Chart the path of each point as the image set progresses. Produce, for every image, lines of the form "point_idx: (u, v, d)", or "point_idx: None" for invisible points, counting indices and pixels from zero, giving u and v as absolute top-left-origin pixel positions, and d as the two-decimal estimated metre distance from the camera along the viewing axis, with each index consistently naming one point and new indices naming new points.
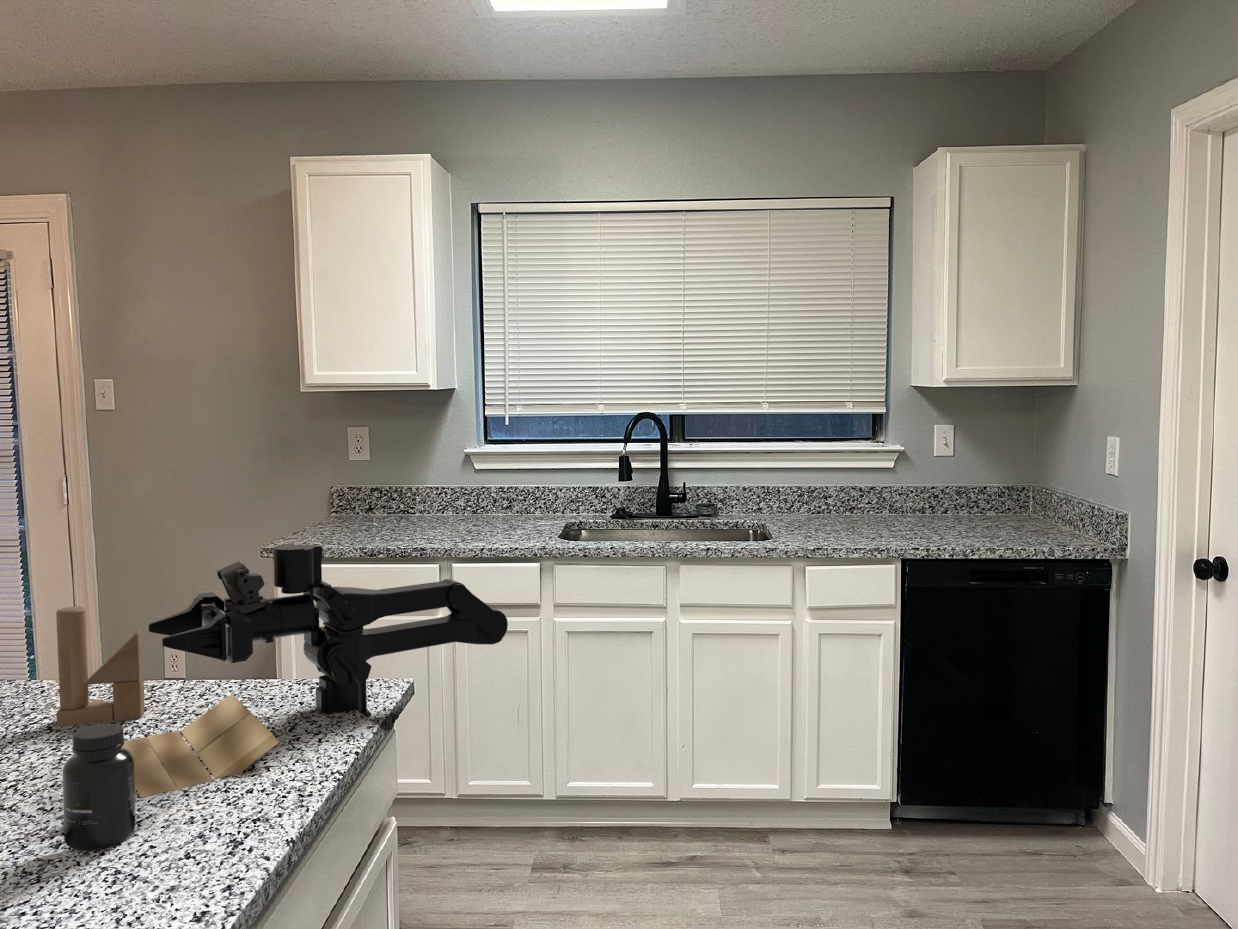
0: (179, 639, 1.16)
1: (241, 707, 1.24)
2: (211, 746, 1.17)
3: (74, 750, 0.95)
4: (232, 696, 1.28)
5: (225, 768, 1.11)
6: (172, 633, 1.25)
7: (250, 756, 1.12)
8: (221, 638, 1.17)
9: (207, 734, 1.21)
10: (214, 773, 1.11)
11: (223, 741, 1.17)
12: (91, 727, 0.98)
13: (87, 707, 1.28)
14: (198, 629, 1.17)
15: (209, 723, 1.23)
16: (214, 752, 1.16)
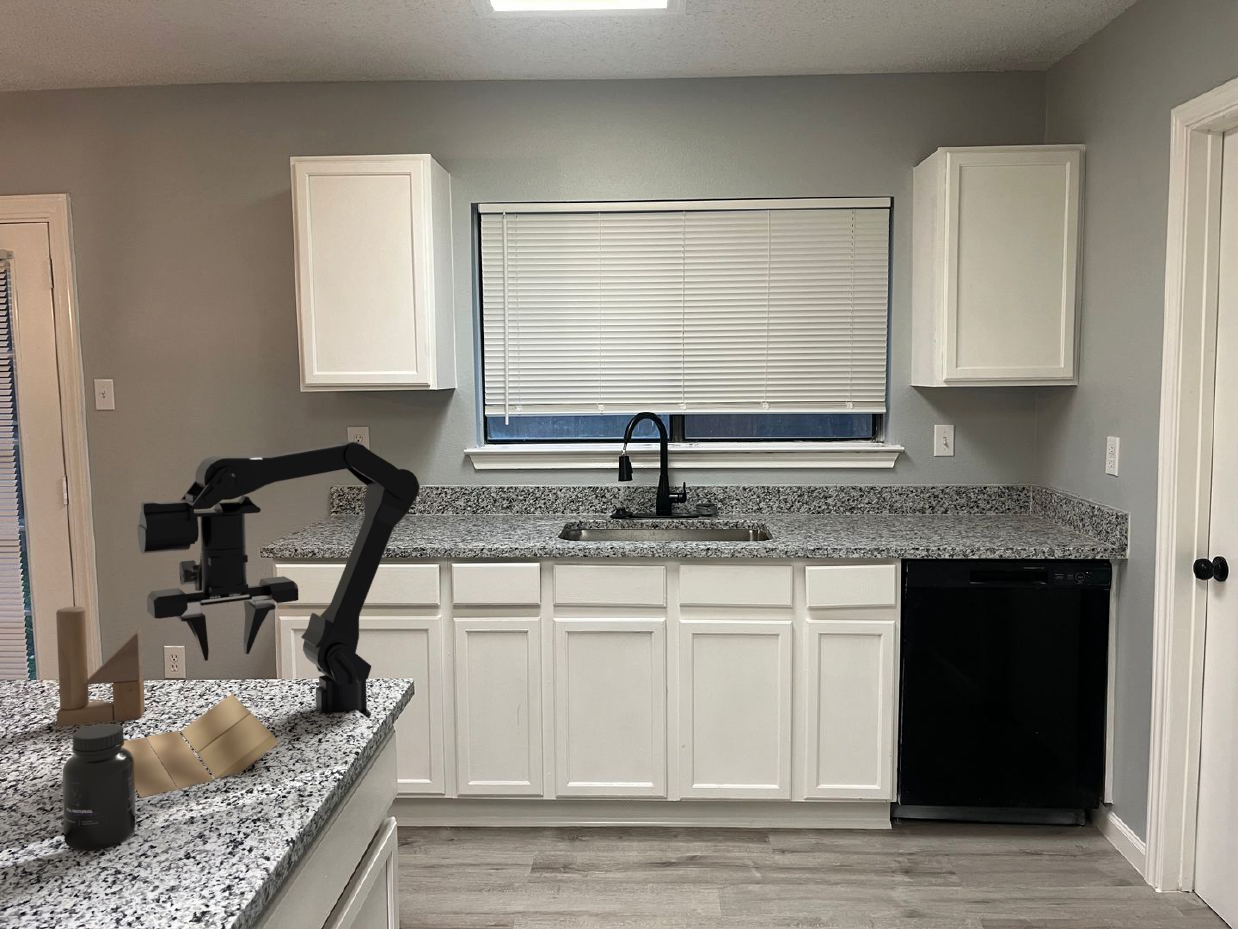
0: None
1: (241, 707, 1.24)
2: (211, 746, 1.17)
3: (74, 750, 0.95)
4: (232, 696, 1.28)
5: (225, 768, 1.11)
6: (248, 635, 1.25)
7: (250, 756, 1.12)
8: None
9: (207, 734, 1.21)
10: (214, 773, 1.11)
11: (223, 741, 1.17)
12: (91, 727, 0.98)
13: (87, 707, 1.28)
14: None
15: (209, 723, 1.23)
16: (214, 752, 1.16)
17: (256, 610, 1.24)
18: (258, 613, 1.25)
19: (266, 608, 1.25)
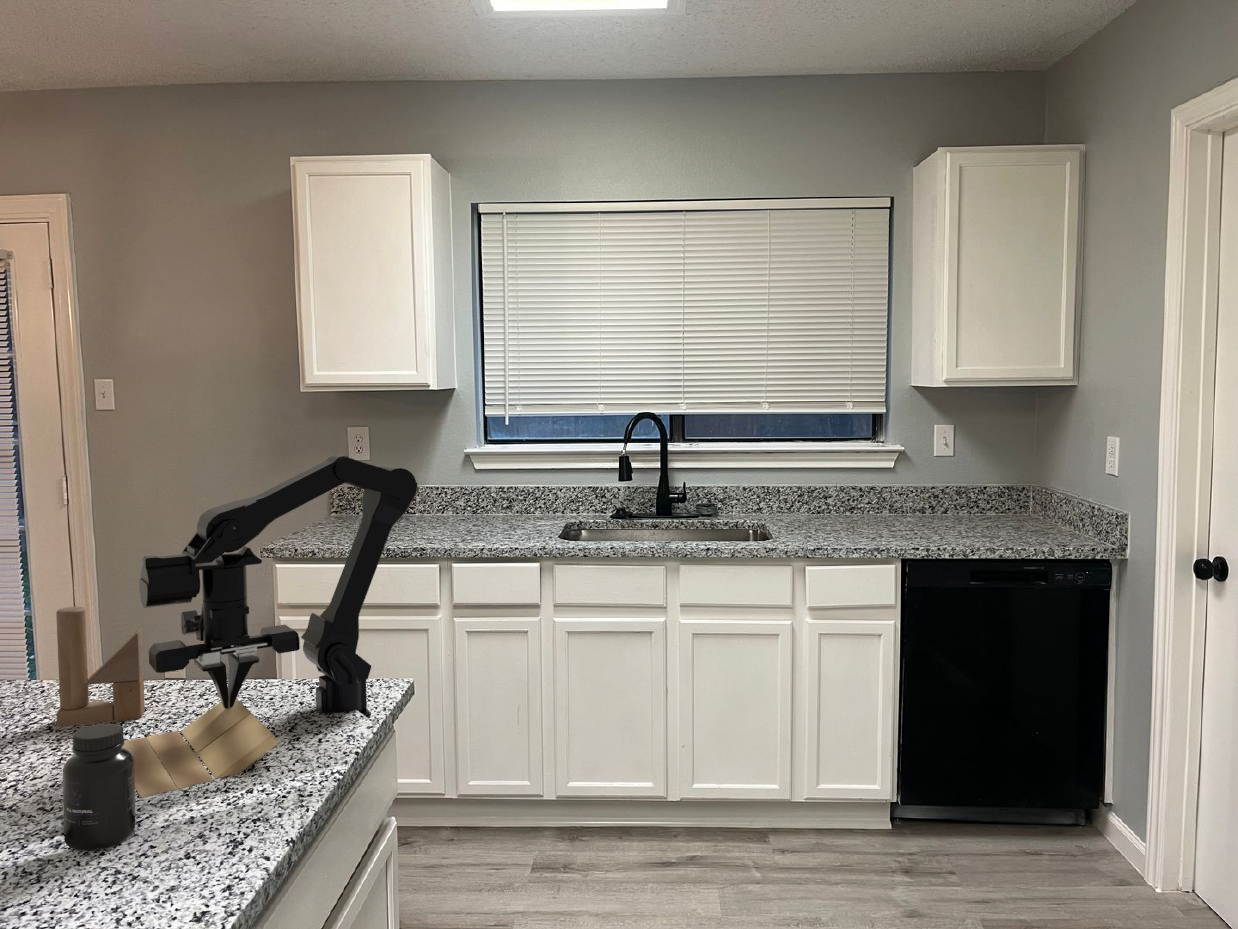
0: None
1: (241, 707, 1.24)
2: (211, 746, 1.17)
3: (74, 750, 0.95)
4: None
5: (225, 768, 1.11)
6: (232, 688, 1.24)
7: (250, 756, 1.12)
8: None
9: (207, 734, 1.21)
10: (214, 773, 1.11)
11: (223, 741, 1.17)
12: (91, 727, 0.98)
13: (87, 707, 1.28)
14: None
15: (209, 723, 1.23)
16: (214, 752, 1.16)
17: (239, 664, 1.23)
18: (242, 667, 1.24)
19: (250, 662, 1.24)
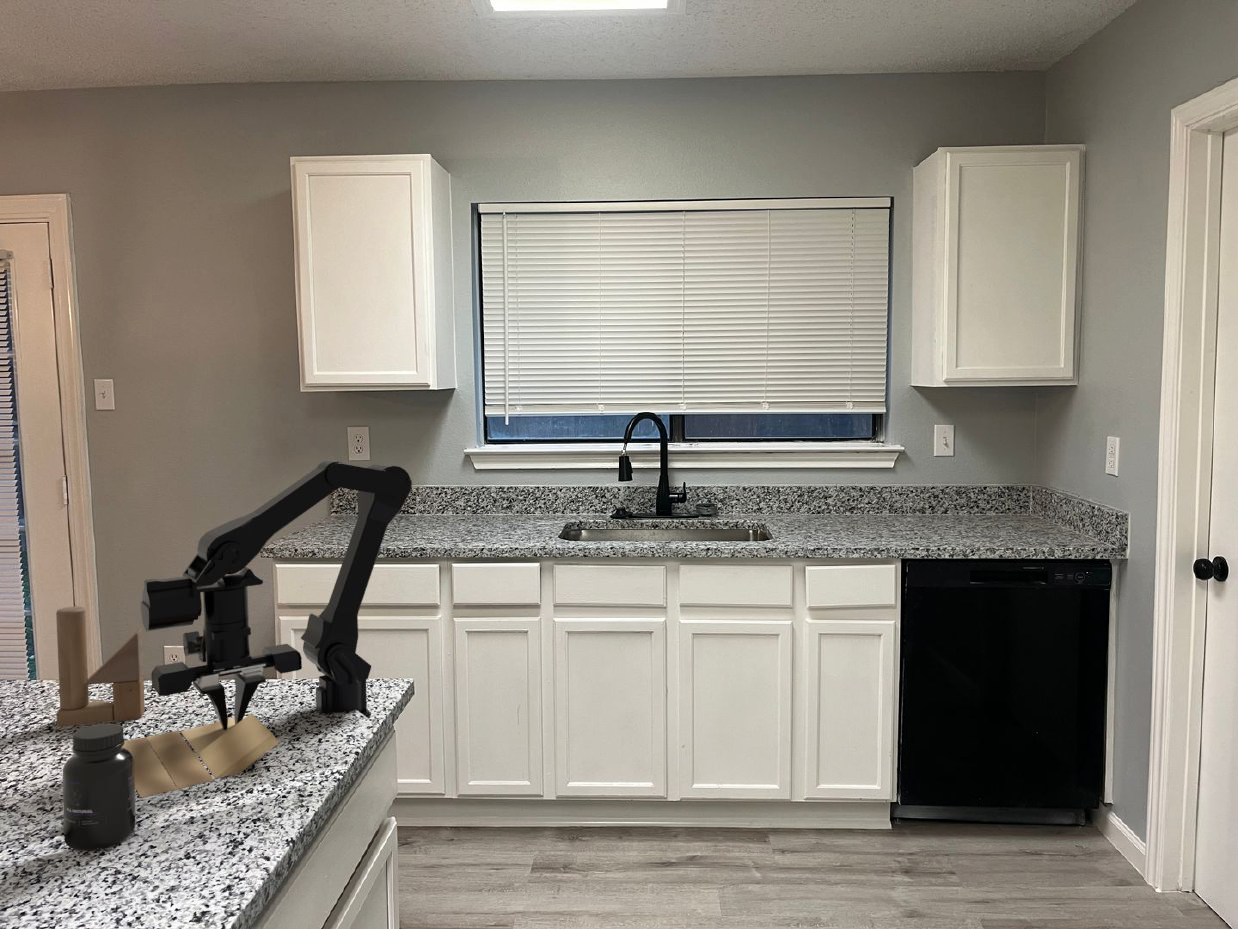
0: (219, 716, 1.25)
1: None
2: (211, 746, 1.17)
3: (74, 750, 0.95)
4: None
5: (225, 768, 1.11)
6: (239, 708, 1.25)
7: (250, 756, 1.12)
8: None
9: (210, 741, 1.21)
10: (214, 773, 1.11)
11: (223, 741, 1.17)
12: (91, 727, 0.98)
13: (87, 707, 1.28)
14: None
15: (213, 733, 1.24)
16: (214, 752, 1.16)
17: (246, 685, 1.24)
18: (248, 687, 1.24)
19: (256, 682, 1.25)
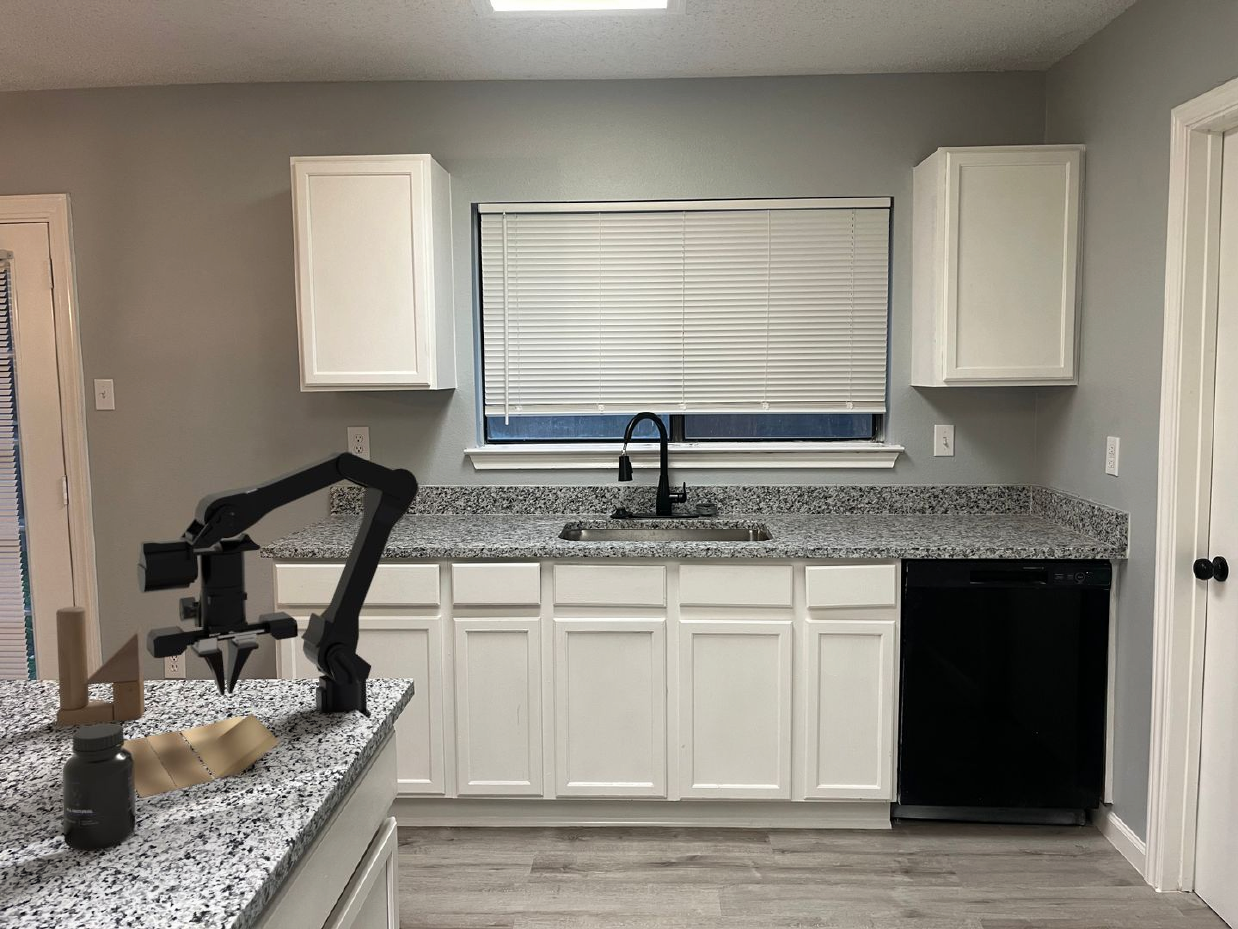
0: (217, 681, 1.25)
1: None
2: (211, 746, 1.17)
3: (74, 750, 0.95)
4: (240, 718, 1.29)
5: (225, 768, 1.11)
6: (231, 674, 1.24)
7: (250, 756, 1.12)
8: None
9: (210, 741, 1.21)
10: (214, 773, 1.11)
11: (223, 741, 1.17)
12: (91, 727, 0.98)
13: (87, 707, 1.28)
14: None
15: (213, 733, 1.24)
16: (214, 752, 1.16)
17: (239, 650, 1.23)
18: (241, 653, 1.23)
19: (249, 648, 1.24)
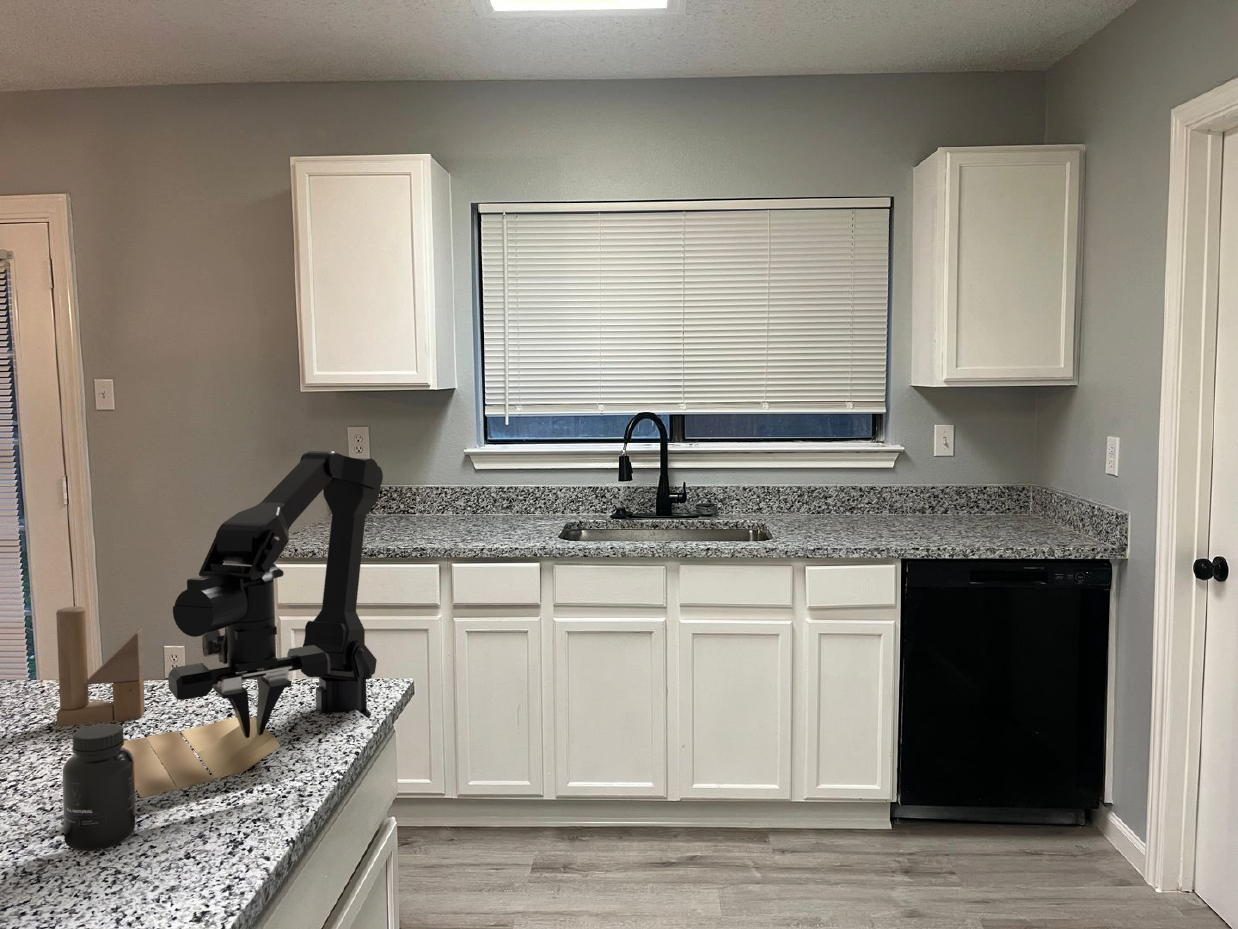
0: (241, 723, 1.15)
1: None
2: (212, 747, 1.17)
3: (74, 751, 0.95)
4: None
5: (225, 769, 1.11)
6: (262, 715, 1.15)
7: (251, 758, 1.12)
8: None
9: (210, 741, 1.21)
10: (214, 773, 1.11)
11: (224, 742, 1.17)
12: (91, 727, 0.98)
13: (87, 707, 1.28)
14: None
15: (213, 733, 1.24)
16: (214, 753, 1.16)
17: (270, 689, 1.14)
18: (273, 691, 1.14)
19: (281, 686, 1.14)
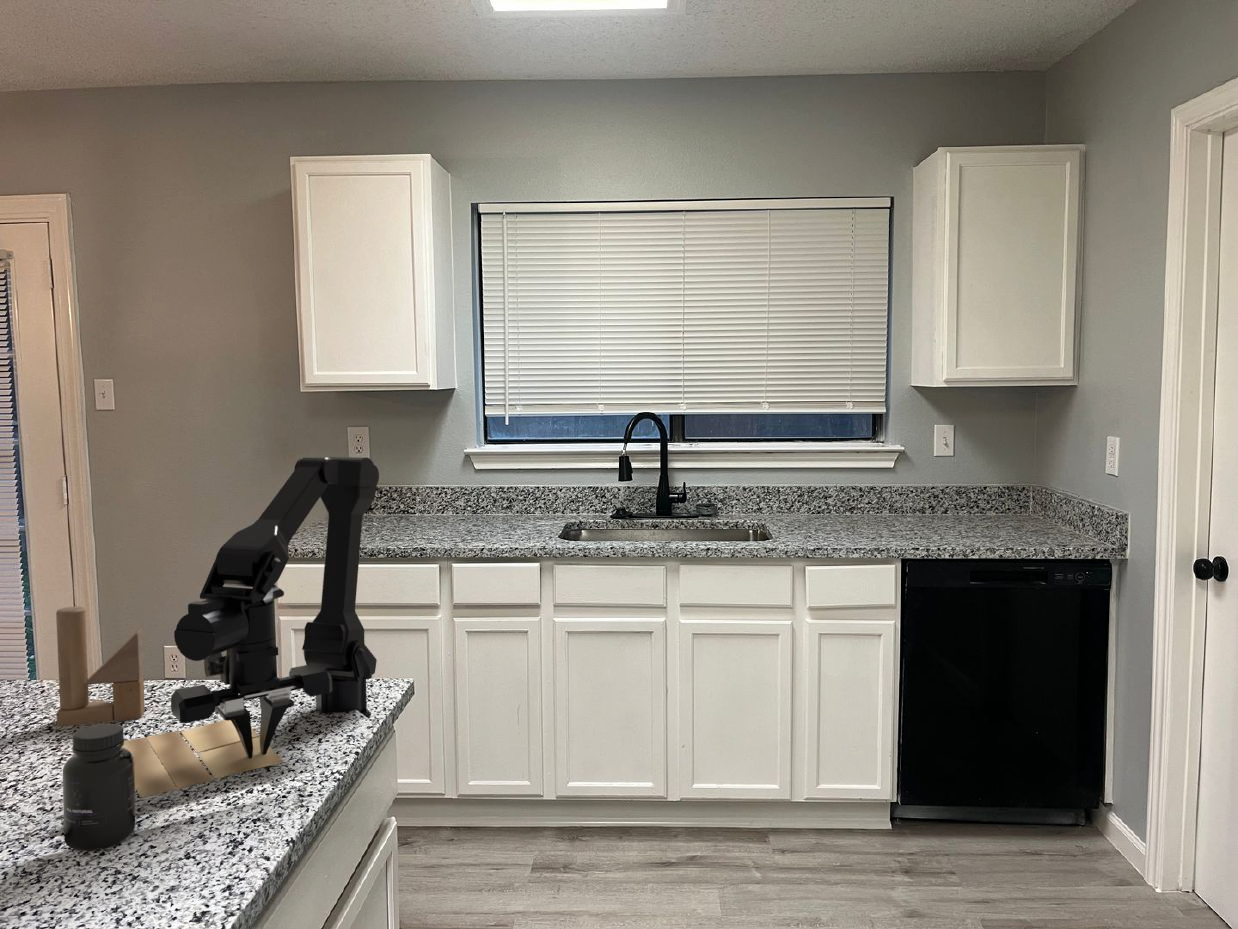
0: (244, 743, 1.15)
1: None
2: (213, 752, 1.18)
3: (74, 751, 0.95)
4: None
5: (226, 773, 1.11)
6: (265, 735, 1.15)
7: None
8: None
9: (210, 741, 1.21)
10: (214, 774, 1.11)
11: (227, 751, 1.18)
12: (91, 727, 0.98)
13: (87, 707, 1.28)
14: None
15: (213, 733, 1.24)
16: (216, 757, 1.16)
17: (273, 709, 1.14)
18: (276, 711, 1.14)
19: (284, 706, 1.15)
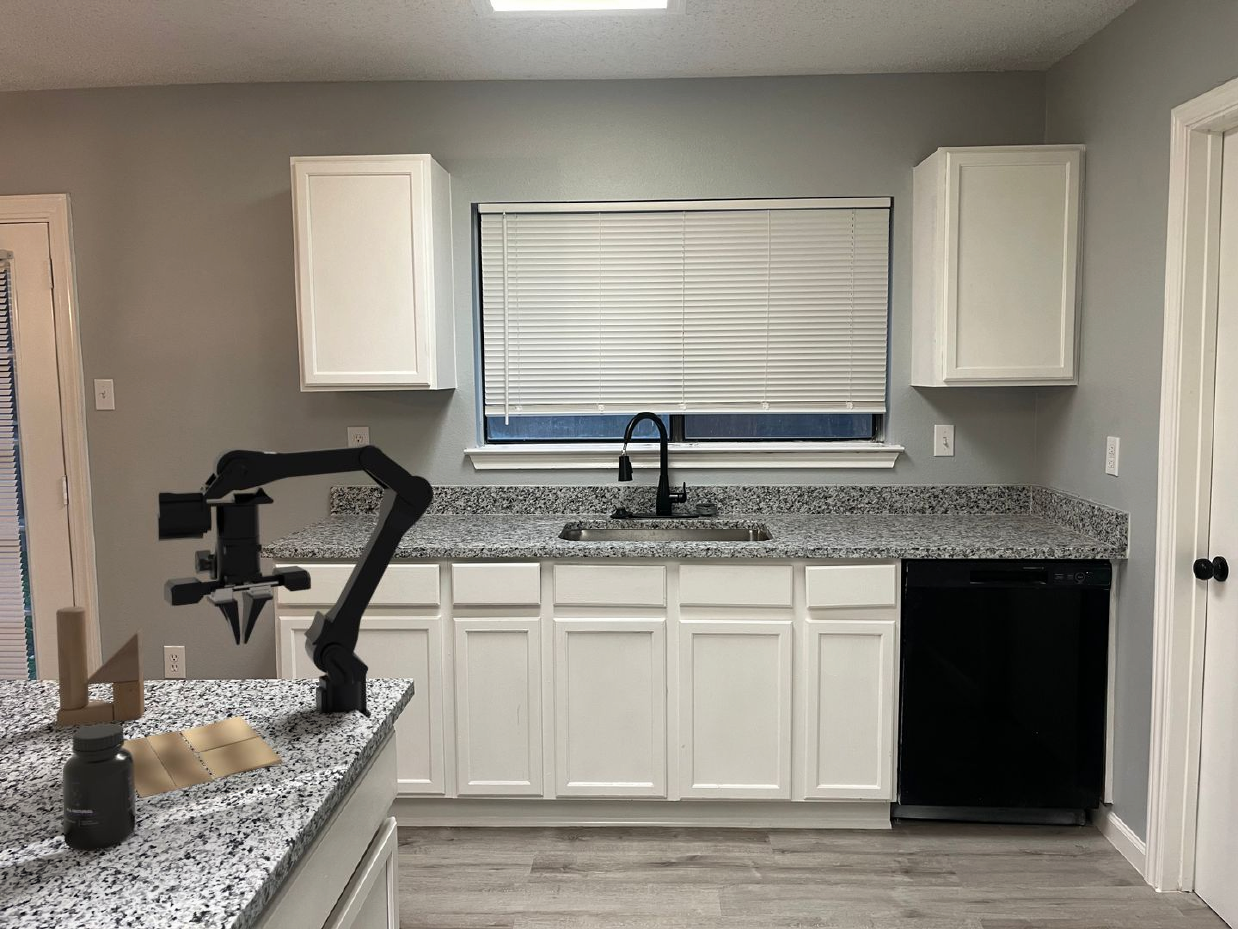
0: (232, 631, 1.27)
1: (250, 729, 1.25)
2: (213, 752, 1.18)
3: (74, 751, 0.95)
4: (240, 718, 1.29)
5: (226, 773, 1.11)
6: (246, 625, 1.27)
7: None
8: None
9: (210, 741, 1.21)
10: (214, 774, 1.11)
11: (227, 751, 1.18)
12: (91, 727, 0.98)
13: (87, 707, 1.28)
14: (226, 615, 1.28)
15: (213, 733, 1.24)
16: (216, 757, 1.16)
17: (254, 601, 1.26)
18: (256, 603, 1.26)
19: (264, 598, 1.27)
